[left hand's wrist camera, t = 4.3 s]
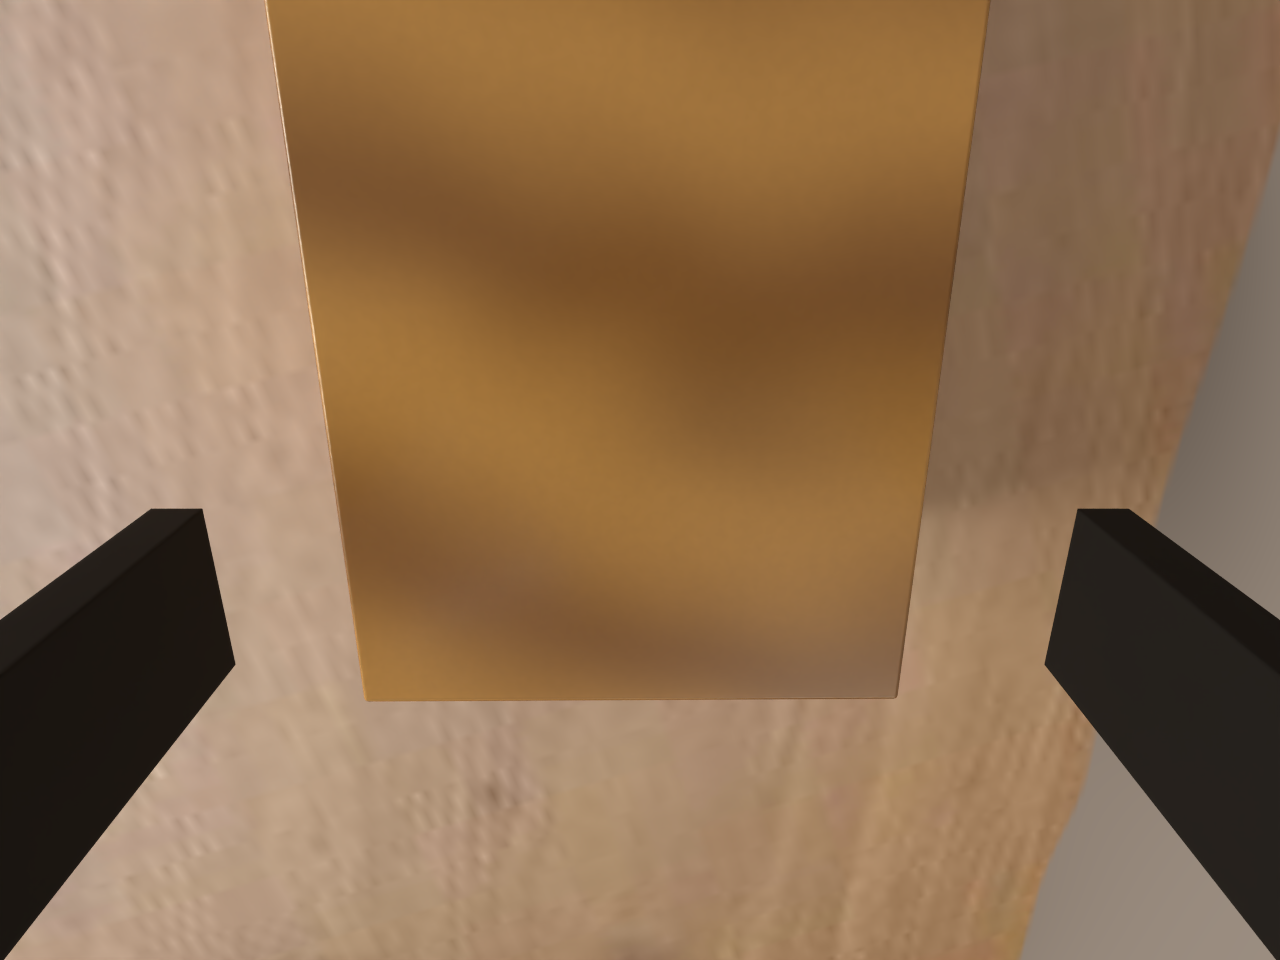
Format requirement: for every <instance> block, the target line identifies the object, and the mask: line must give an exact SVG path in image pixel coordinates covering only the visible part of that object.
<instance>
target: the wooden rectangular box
mask: <svg viewBox="0 0 1280 960" xmlns="http://www.w3.org/2000/svg"><path fill="white" fill-rule="evenodd" d="M990 1H991V0H264V2H265V9H266V16H267V23H268V30H269V37H270V44H271V51H272V58H273V65H274V72H275V79H276V86H277V93H278V100H279V107H280V114H281V121H282V128H283V135H284V142H285V149H286V156H287V162H288V169H289V176H290V183H291V190H292V197H293V204H294V211H295V218H296V225H297V232H298V239H299V246H300V253H301V260H302V267H303V274H304V281H305V288H306V295H307V302H308V309H309V316H310V323H311V330H312V337H313V344H314V351H315V357H316V364H317V371H318V378H319V385H320V392H321V399H322V406H323V413H324V420H325V427H326V434H327V441H328V448H329V455H330V462H331V469H332V476H333V483H334V490H335V497H336V504H337V511H338V518H339V525H340V532H341V539H342V546H343V552H344V559H345V566H346V573H347V580H348V587H349V594H350V601H351V608H352V615H353V622H354V629H355V636H356V643H357V650H358V657H359V664H360V671H361V678H362V685H363V692H364V698H365V700H366V701H528V700H712V699H894V698H896V697H897V695H898V688H899V680H900V673H901V665H902V658H903V650H904V643H905V635H906V628H907V620H908V613H909V606H910V598H911V591H912V583H913V576H914V568H915V561H916V553H917V546H918V538H919V531H920V523H921V516H922V508H923V501H924V493H925V486H926V479H927V471H928V464H929V456H930V449H931V441H932V434H933V426H934V419H935V411H936V404H937V396H938V389H939V381H940V374H941V366H942V359H943V352H944V344H945V337H946V329H947V322H948V314H949V307H950V299H951V292H952V284H953V277H954V269H955V262H956V254H957V247H958V240H959V232H960V225H961V217H962V210H963V202H964V195H965V187H966V180H967V172H968V165H969V157H970V150H971V142H972V135H973V127H974V120H975V113H976V105H977V98H978V90H979V83H980V75H981V68H982V60H983V53H984V45H985V38H986V30H987V23H988V15H989V8H990Z"/></svg>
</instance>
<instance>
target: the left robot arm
mask: <svg viewBox="0 0 1280 960" xmlns="http://www.w3.org/2000/svg"><path fill="white" fill-rule="evenodd" d="M234 666H235V660H234V655H233V650H232V646H231V641H230V636H229V632H228V627H227V622H226V618H225V613H224V608H223V604H222V599H221V594H220V590H219V585H218V580H217V575H216V571H215V566H214V561H213V557H212V552H211V547H210V543H209V538H208V533H207V529H206V524H205V519H204V514H203V510H202V509H150V510H149V511H147V512H146V513H145V514H143V515H142V516H141V517H139V518H138V519H137V520H135V521H134V522H133V523H131V524H130V525H128V526H127V527H126V528H124V529H123V530H122V531H120V532H119V533H118V534H116V535H115V536H114V537H112V538H111V539H109V540H108V541H107V542H105V543H104V544H103V545H101V546H100V547H99V548H97V549H96V550H95V551H93V552H92V553H90V554H89V555H88V556H86V557H85V558H84V559H82V560H81V561H80V562H78V563H77V564H76V565H74V566H73V567H71V568H70V569H69V570H67V571H66V572H65V573H63V574H62V575H61V576H59V577H58V578H57V579H55V580H54V581H52V582H51V583H50V584H48V585H47V586H46V587H44V588H43V589H42V590H40V591H39V592H38V593H36V594H35V595H33V596H32V597H31V598H29V599H28V600H27V601H25V602H24V603H23V604H21V605H20V606H19V607H17V608H16V609H14V610H13V611H12V612H10V613H9V614H8V615H6V616H5V617H4V618H2V619H1V620H0V960H4V959H5V958H6V956H7V955H8V954H9V953H10V951H11V950H12V949H13V947H14V946H15V945H16V944H17V942H18V941H19V940H20V939H21V937H22V936H23V935H24V933H25V932H26V931H27V930H28V928H29V927H30V926H31V924H32V923H33V922H34V921H35V919H36V918H37V917H38V916H39V914H40V913H41V912H42V910H43V909H44V908H45V907H46V905H47V904H48V903H49V902H50V900H51V899H52V898H53V896H54V895H55V894H56V893H57V891H58V890H59V889H60V888H61V886H62V885H63V884H64V882H65V881H66V880H67V879H68V877H69V876H70V875H71V873H72V872H73V871H74V870H75V868H76V867H77V866H78V865H79V863H80V862H81V861H82V859H83V858H84V857H85V856H86V854H87V853H88V852H89V851H90V849H91V848H92V847H93V845H94V844H95V843H96V842H97V840H98V839H99V838H100V837H101V835H102V834H103V833H104V831H105V830H106V829H107V828H108V826H109V825H110V824H111V823H112V821H113V820H114V819H115V817H116V816H117V815H118V814H119V812H120V811H121V810H122V808H123V807H124V806H125V805H126V803H127V802H128V801H129V800H130V798H131V797H132V796H133V794H134V793H135V792H136V791H137V789H138V788H139V787H140V786H141V784H142V783H143V782H144V780H145V779H146V778H147V777H148V775H149V774H150V773H151V772H152V770H153V769H154V768H155V766H156V765H157V764H158V763H159V761H160V760H161V759H162V757H163V756H164V755H165V754H166V752H167V751H168V750H169V749H170V747H171V746H172V745H173V743H174V742H175V741H176V740H177V738H178V737H179V736H180V735H181V733H182V732H183V731H184V729H185V728H186V727H187V726H188V724H189V723H190V722H191V721H192V719H193V718H194V717H195V715H196V714H197V713H198V712H199V710H200V709H201V708H202V706H203V705H204V704H205V703H206V701H207V700H208V699H209V698H210V696H211V695H212V694H213V692H214V691H215V690H216V689H217V687H218V686H219V685H220V684H221V682H222V681H223V680H224V678H225V677H226V676H227V675H228V673H229V672H230V671H231V670H232V668H233V667H234ZM1045 666H1046V667H1047V668H1048V670H1049V671H1050V672H1051V673H1052V675H1053V676H1054V677H1055V678H1056V680H1057V681H1058V682H1059V684H1060V685H1061V686H1062V687H1063V689H1064V690H1065V691H1066V692H1067V694H1068V695H1069V696H1070V698H1071V699H1072V700H1073V701H1074V703H1075V704H1076V705H1077V706H1078V708H1079V709H1080V710H1081V712H1082V713H1083V714H1084V715H1085V717H1086V718H1087V719H1088V721H1089V722H1090V723H1091V724H1092V726H1093V727H1094V728H1095V729H1096V731H1097V732H1098V733H1099V734H1100V736H1101V737H1102V738H1103V740H1104V741H1105V742H1106V743H1107V745H1108V746H1109V747H1110V749H1111V750H1112V751H1113V752H1114V754H1115V755H1116V756H1117V757H1118V759H1119V760H1120V761H1121V763H1122V764H1123V765H1124V766H1125V768H1126V769H1127V770H1128V772H1129V773H1130V774H1131V775H1132V777H1133V778H1134V779H1135V780H1136V782H1137V783H1138V784H1139V785H1140V787H1141V788H1142V789H1143V790H1144V792H1145V793H1146V794H1147V796H1148V797H1149V798H1150V800H1151V801H1152V802H1153V803H1154V805H1155V806H1156V807H1157V808H1158V810H1159V811H1160V812H1161V814H1162V815H1163V816H1164V817H1165V819H1166V820H1167V821H1168V823H1169V824H1170V825H1171V826H1172V828H1173V829H1174V830H1175V831H1176V833H1177V834H1178V835H1179V836H1180V838H1181V839H1182V840H1183V842H1184V843H1185V844H1186V845H1187V847H1188V848H1189V849H1190V851H1191V852H1192V853H1193V854H1194V856H1195V857H1196V858H1197V859H1198V861H1199V862H1200V863H1201V865H1202V866H1203V867H1204V868H1205V870H1206V871H1207V872H1208V873H1209V875H1210V876H1211V877H1212V879H1213V880H1214V881H1215V882H1216V884H1217V885H1218V886H1219V888H1220V889H1221V890H1222V891H1223V893H1224V894H1225V895H1226V896H1227V898H1228V899H1229V900H1230V902H1231V903H1232V904H1233V905H1234V907H1235V908H1236V909H1237V910H1238V912H1239V913H1240V914H1241V916H1242V917H1243V918H1244V919H1245V921H1246V922H1247V923H1248V924H1249V926H1250V927H1251V928H1252V930H1253V931H1254V932H1255V933H1256V935H1257V936H1258V937H1259V939H1260V940H1261V941H1262V942H1263V944H1264V945H1265V946H1266V947H1267V949H1268V950H1269V951H1270V953H1271V954H1272V955H1273V956H1274V958H1275V959H1276V960H1280V620H1279V619H1278V618H1276V617H1275V616H1274V615H1272V614H1271V613H1270V612H1268V611H1267V610H1266V609H1264V608H1263V607H1261V606H1260V605H1259V604H1257V603H1256V602H1255V601H1253V600H1252V599H1251V598H1249V597H1248V596H1247V595H1245V594H1244V593H1242V592H1241V591H1240V590H1238V589H1237V588H1236V587H1234V586H1233V585H1232V584H1230V583H1229V582H1228V581H1226V580H1225V579H1223V578H1222V577H1221V576H1219V575H1218V574H1217V573H1215V572H1214V571H1213V570H1211V569H1210V568H1208V567H1207V566H1206V565H1204V564H1203V563H1202V562H1200V561H1199V560H1198V559H1196V558H1195V557H1194V556H1192V555H1191V554H1190V553H1188V552H1187V551H1185V550H1184V549H1183V548H1181V547H1180V546H1179V545H1177V544H1176V543H1175V542H1173V541H1172V540H1170V539H1169V538H1168V537H1166V536H1165V535H1164V534H1162V533H1161V532H1160V531H1158V530H1157V529H1156V528H1154V527H1153V526H1152V525H1150V524H1149V523H1147V522H1146V521H1145V520H1143V519H1142V518H1141V517H1139V516H1138V515H1137V514H1135V513H1134V512H1133V511H1131V510H1130V509H1078V510H1077V514H1076V519H1075V524H1074V529H1073V533H1072V538H1071V543H1070V547H1069V552H1068V557H1067V561H1066V566H1065V571H1064V575H1063V580H1062V585H1061V590H1060V594H1059V599H1058V604H1057V608H1056V613H1055V618H1054V622H1053V627H1052V632H1051V636H1050V641H1049V646H1048V650H1047V655H1046V660H1045Z"/></svg>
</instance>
